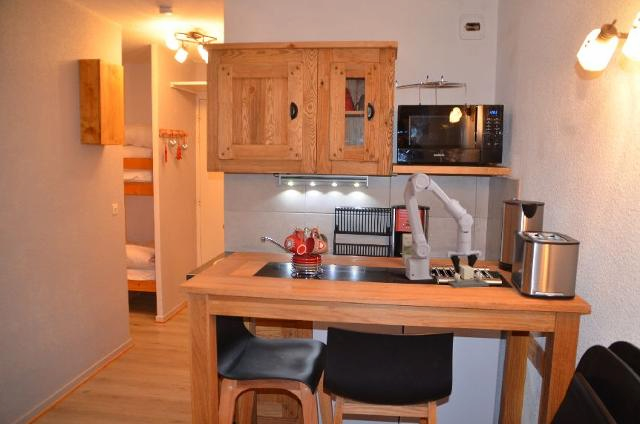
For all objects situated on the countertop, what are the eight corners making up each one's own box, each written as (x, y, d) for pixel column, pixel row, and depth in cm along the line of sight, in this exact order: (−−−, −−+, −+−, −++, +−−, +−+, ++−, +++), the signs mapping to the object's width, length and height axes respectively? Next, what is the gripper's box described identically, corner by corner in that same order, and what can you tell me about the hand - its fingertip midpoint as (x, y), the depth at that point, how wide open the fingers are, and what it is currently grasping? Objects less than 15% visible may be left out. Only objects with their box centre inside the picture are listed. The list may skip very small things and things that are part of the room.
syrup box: (414, 263, 235) (414, 233, 233) (415, 266, 229) (415, 235, 228) (402, 263, 236) (402, 233, 234) (403, 265, 230) (403, 235, 228)
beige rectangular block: (473, 280, 204) (473, 268, 203) (464, 280, 203) (464, 268, 202) (462, 273, 214) (462, 262, 214) (453, 274, 214) (454, 262, 213)
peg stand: (454, 287, 192) (454, 276, 192) (447, 283, 199) (448, 272, 199) (488, 286, 194) (489, 274, 193) (481, 281, 201) (481, 270, 200)
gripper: (450, 243, 202) (450, 276, 204) (484, 242, 204) (484, 274, 205) (444, 240, 209) (444, 271, 211) (477, 239, 211) (476, 270, 212)
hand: (463, 272), depth 208 cm, fingers open, 5 cm apart
